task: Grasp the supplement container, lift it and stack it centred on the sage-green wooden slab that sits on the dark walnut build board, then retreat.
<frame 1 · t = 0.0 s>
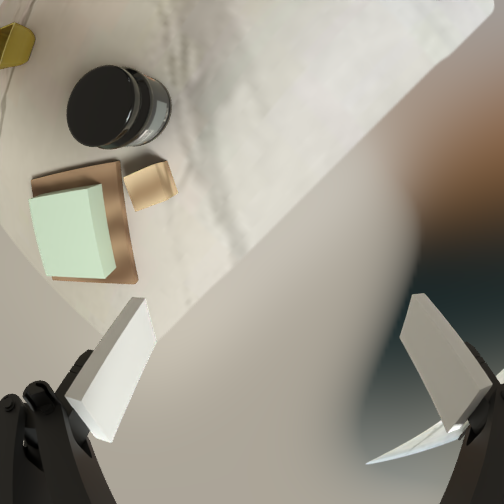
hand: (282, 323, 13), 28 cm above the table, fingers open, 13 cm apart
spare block: (157, 182, 38), on the table
pedestal slab: (76, 229, 40), point 1 cm above the table, touching build board
supplement container: (141, 111, 34), on the table
flower pot: (25, 51, 28), on the table
build board: (80, 226, 41), on the table
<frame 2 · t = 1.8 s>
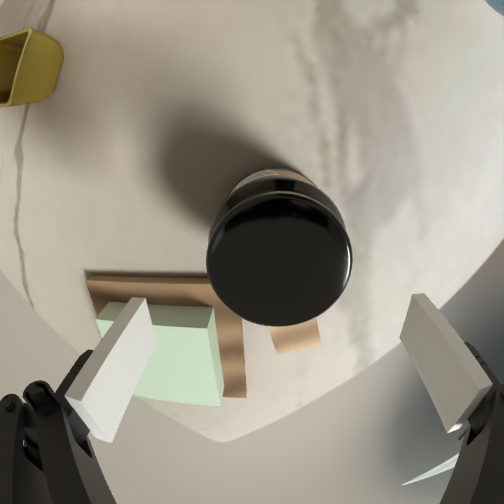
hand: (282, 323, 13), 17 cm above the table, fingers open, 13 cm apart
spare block: (291, 306, 33), on the table
pedestal slab: (168, 347, 34), point 1 cm above the table, touching build board
supplement container: (275, 216, 29), on the table
flower pot: (48, 74, 22), on the table
build board: (171, 340, 36), on the table
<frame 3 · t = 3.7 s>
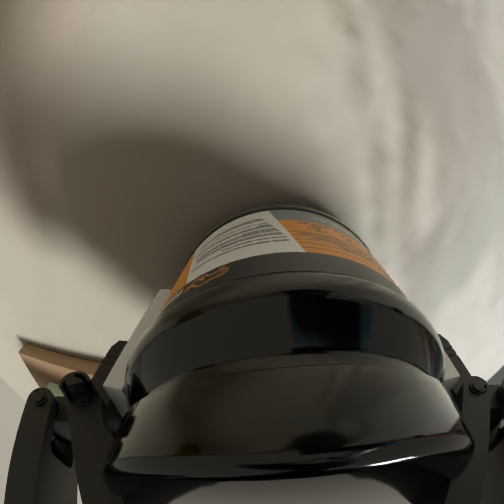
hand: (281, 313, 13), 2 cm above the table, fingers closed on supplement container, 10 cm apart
supplement container: (279, 291, 15), on the table, touching gripper
build board: (136, 428, 22), on the table
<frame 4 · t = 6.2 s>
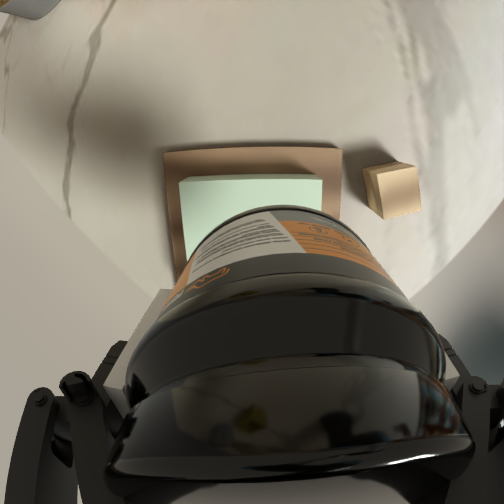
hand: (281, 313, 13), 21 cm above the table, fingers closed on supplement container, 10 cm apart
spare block: (383, 184, 31), on the table
pedestal slab: (253, 234, 32), point 1 cm above the table, touching build board
supplement container: (280, 292, 15), point 19 cm above the table, touching gripper
build board: (253, 230, 34), on the table
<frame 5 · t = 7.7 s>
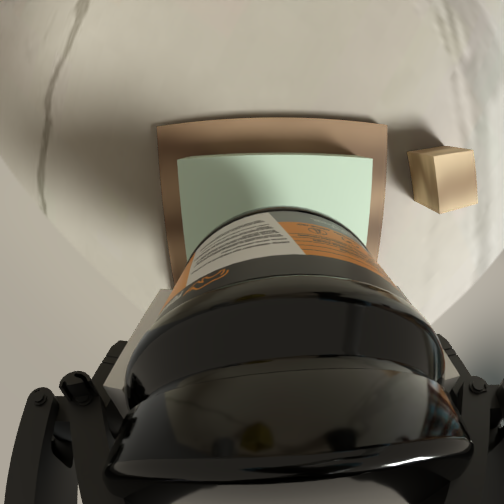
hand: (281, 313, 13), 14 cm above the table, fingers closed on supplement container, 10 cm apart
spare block: (429, 172, 23), on the table
pedestal slab: (275, 232, 25), point 1 cm above the table, touching build board
supplement container: (279, 292, 15), point 12 cm above the table, touching gripper
build board: (274, 227, 26), on the table
when the fingers open (9 cm above the table, at t = 9.1 s): supplement container drops 2 cm, resting on pedestal slab.
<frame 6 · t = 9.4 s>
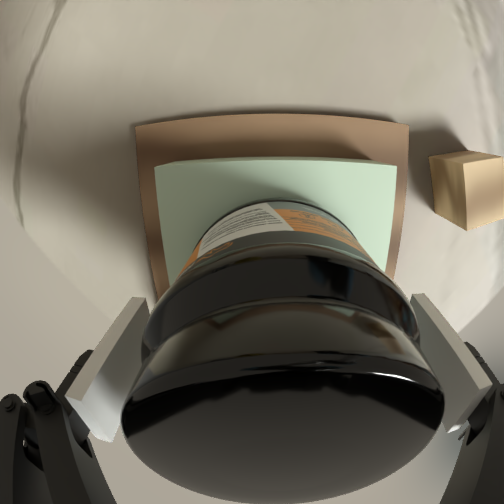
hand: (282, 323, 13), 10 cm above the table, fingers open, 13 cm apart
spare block: (452, 180, 19), on the table
pedestal slab: (276, 252, 21), point 1 cm above the table, touching build board, supplement container
supplement container: (277, 277, 17), point 5 cm above the table, touching pedestal slab
build board: (275, 245, 22), on the table
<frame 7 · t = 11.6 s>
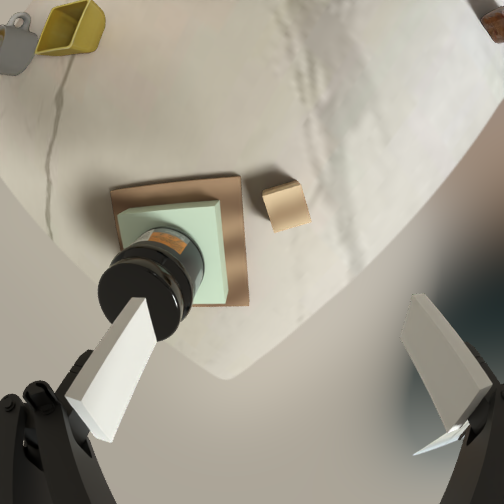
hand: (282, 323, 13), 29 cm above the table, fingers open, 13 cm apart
coffee mug: (27, 46, 28), on the table
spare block: (284, 201, 39), on the table
pedestal slab: (178, 249, 41), point 1 cm above the table, touching build board, supplement container
supplement container: (170, 259, 37), point 5 cm above the table, touching pedestal slab
flower pot: (90, 39, 29), on the table
food item: (497, 26, 22), on the table
build board: (180, 246, 42), on the table
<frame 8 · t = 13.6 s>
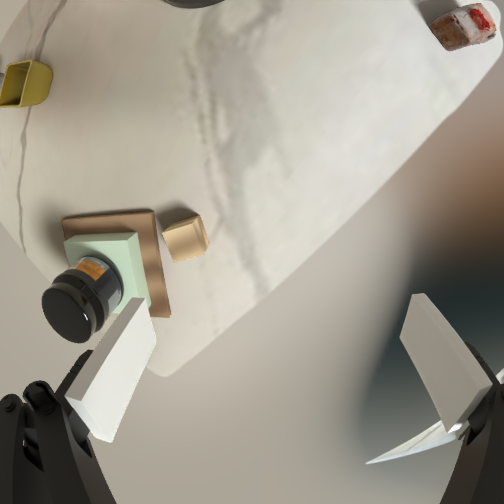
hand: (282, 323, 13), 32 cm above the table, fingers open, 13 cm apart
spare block: (190, 233, 45), on the table
pedestal slab: (111, 269, 47), point 1 cm above the table, touching build board, supplement container
supplement container: (101, 279, 43), point 5 cm above the table, touching pedestal slab
flower pot: (43, 86, 35), on the table
food item: (454, 31, 27), on the table
build board: (115, 266, 48), on the table
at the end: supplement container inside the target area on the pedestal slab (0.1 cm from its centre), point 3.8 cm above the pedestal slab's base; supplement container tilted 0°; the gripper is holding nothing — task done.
